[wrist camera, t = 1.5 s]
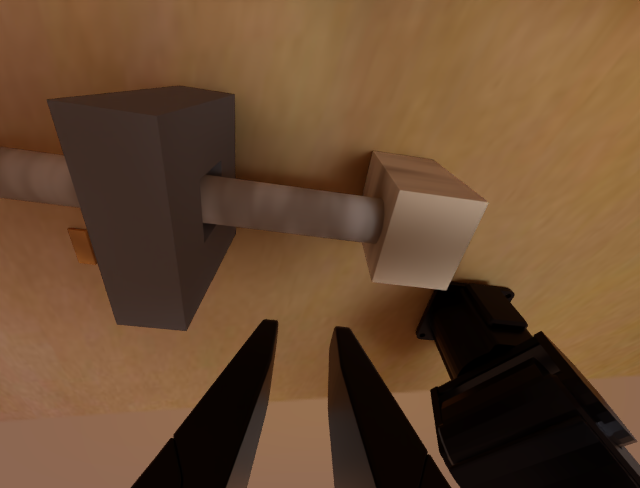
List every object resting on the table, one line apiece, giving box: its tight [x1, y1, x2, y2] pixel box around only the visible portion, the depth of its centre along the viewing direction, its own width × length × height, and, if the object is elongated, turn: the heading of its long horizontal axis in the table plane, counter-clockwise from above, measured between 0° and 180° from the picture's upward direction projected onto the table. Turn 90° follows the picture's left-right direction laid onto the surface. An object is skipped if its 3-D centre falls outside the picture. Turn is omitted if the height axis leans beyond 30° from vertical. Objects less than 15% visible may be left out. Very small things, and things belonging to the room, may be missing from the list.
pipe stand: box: [0, 147, 489, 290], centre depth 17 cm, size 12×36×7 cm, turn 82°
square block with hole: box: [47, 86, 236, 331], centre depth 14 cm, size 9×3×9 cm, turn 172°
